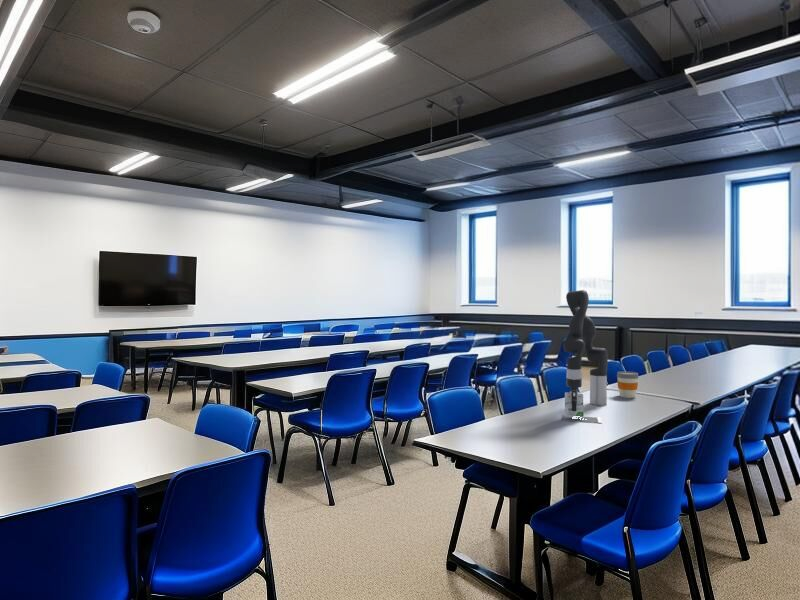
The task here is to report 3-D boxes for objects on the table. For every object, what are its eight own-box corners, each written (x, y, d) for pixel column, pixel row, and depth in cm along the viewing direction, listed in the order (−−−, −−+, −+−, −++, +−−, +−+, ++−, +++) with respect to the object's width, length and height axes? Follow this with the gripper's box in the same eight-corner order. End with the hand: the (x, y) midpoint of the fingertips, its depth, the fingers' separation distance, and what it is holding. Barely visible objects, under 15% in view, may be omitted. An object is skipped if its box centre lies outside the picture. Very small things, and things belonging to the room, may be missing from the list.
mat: (562, 415, 270) (562, 415, 270) (600, 418, 264) (600, 417, 264) (561, 420, 260) (561, 419, 260) (601, 423, 254) (601, 422, 254)
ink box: (581, 414, 265) (581, 392, 265) (583, 416, 261) (583, 393, 260) (564, 414, 266) (564, 391, 266) (566, 416, 261) (566, 393, 261)
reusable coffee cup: (612, 394, 326) (612, 371, 326) (630, 394, 329) (630, 371, 328) (624, 398, 314) (624, 374, 314) (642, 398, 316) (642, 374, 316)
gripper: (566, 375, 271) (566, 406, 271) (566, 379, 258) (566, 412, 258) (581, 375, 269) (581, 407, 269) (582, 380, 255) (582, 413, 255)
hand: (574, 409), depth 263 cm, fingers closed on ink box, 5 cm apart
